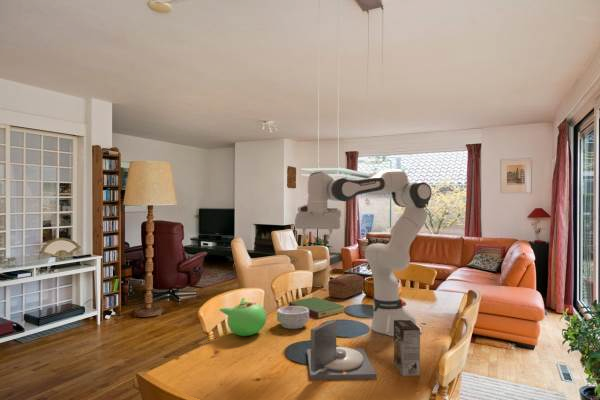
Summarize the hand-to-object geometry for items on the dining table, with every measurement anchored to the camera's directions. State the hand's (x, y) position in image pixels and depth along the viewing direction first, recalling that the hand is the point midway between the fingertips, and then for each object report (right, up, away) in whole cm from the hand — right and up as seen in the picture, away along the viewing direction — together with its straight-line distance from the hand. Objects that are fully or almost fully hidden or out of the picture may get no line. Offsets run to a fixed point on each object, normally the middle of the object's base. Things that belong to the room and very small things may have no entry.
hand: (317, 239), depth 167 cm
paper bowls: (-11, -43, +11) cm, 45 cm away
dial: (+4, -40, -34) cm, 53 cm away
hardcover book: (+1, -43, +38) cm, 57 cm away
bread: (+22, -43, +72) cm, 87 cm away
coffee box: (+30, -42, -35) cm, 63 cm away
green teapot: (-32, -43, +1) cm, 53 cm away
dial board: (+6, -42, -31) cm, 53 cm away
